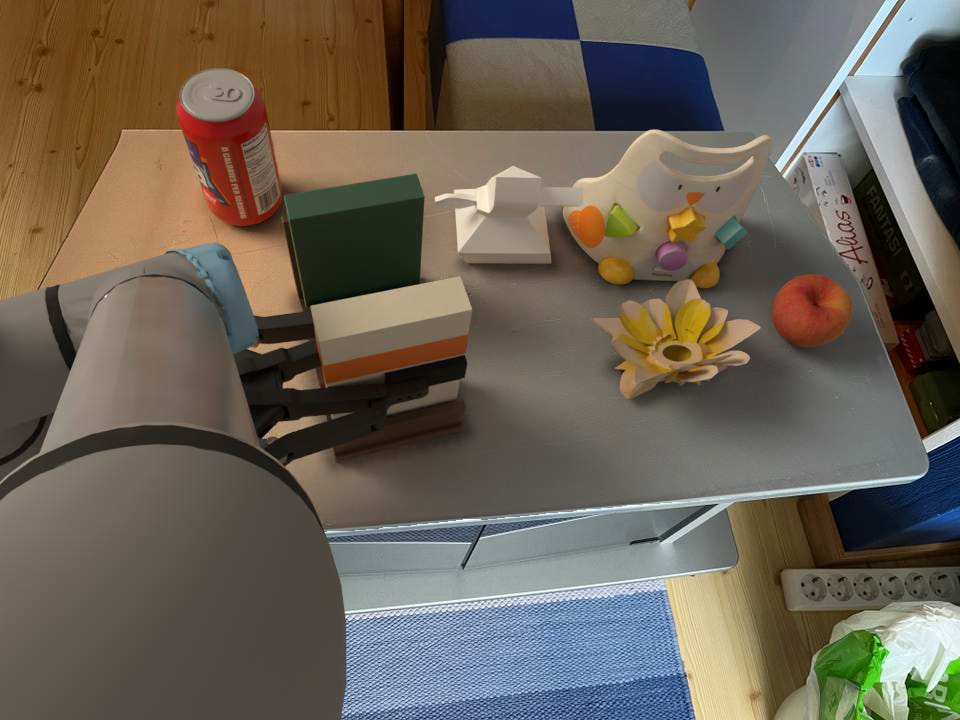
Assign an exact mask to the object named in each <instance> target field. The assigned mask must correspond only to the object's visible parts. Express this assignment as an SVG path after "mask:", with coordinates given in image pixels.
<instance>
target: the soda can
mask: <svg viewBox="0 0 960 720" xmlns="http://www.w3.org/2000/svg"><path fill="white" fill-rule="evenodd" d="M176 116H177V120H178V124H179V127H180V129H181V132H182V134H183V138H184V141H185V144H186V147H187V150H188V152H189V155H190V159H191V161H192V165H193V168H194V170H195V173H196V176H197V179H198V182H199V185H200V188H201V191H202V194H203V197H204V200H205V203H206V205H207V207H208V210H209V211H210V213H212V215H213V216H214V217H216V218H217V219H218V220H220V221H221V222H224V223H226V224H228V225H232V226H241V227H242V226H243V227H244V226H245V227H246V226H251V225H252V226H253V225H257V224H260V223H262V222H264V221H266V220H268V219H269V218H271V217H272V216H273V215H274V214H275V213H276V212H277V210H278V209H279V207H280V205H281V202H282V199H283V189H282V184H281V178H280V172H279V168H278V163H277V157H276V153H275V147H274V143H273V138H272V133H271V128H270V122H269V118H268V112H267V108H266V103H265V99H264V97H263V96H262V94H261V92H260V91H259V90H258V88H256V87H255V86H254V85H253V83H252V82H251V80H250V79H249V78H248V77H247V76H246V75H244V74H243V73H241V72H239V71H237V70H233V69H229V68H223V67H222V68H221V67H216V68H215V67H214V68H208V69H204V70H201V71H197V72H196V73H194V74H192V75H191V76H190V77H188V78H187V79H186V80H185V81H184V82H183V84H182V85H181V88H180V90H179V98H178V100H177V103H176Z"/></svg>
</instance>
